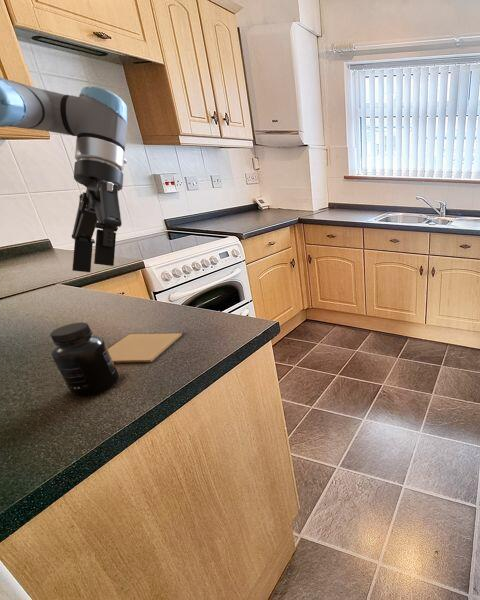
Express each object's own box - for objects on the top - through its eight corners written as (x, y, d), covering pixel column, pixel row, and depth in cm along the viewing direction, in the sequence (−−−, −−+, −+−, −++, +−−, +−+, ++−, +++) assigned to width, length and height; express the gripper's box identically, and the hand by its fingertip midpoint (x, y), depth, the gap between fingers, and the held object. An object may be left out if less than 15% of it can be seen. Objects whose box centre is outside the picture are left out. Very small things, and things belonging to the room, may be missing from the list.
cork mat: (91, 363, 68) (90, 361, 68) (130, 335, 78) (129, 334, 78) (151, 362, 68) (150, 360, 68) (182, 335, 78) (181, 333, 78)
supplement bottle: (94, 374, 65) (69, 318, 60) (129, 374, 64) (106, 319, 59) (60, 398, 58) (29, 338, 53) (98, 399, 58) (70, 339, 53)
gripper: (146, 157, 66) (139, 264, 64) (102, 187, 79) (95, 275, 78) (97, 139, 59) (87, 257, 58) (58, 175, 73) (49, 271, 71)
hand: (92, 268), depth 68 cm, fingers open, 13 cm apart
